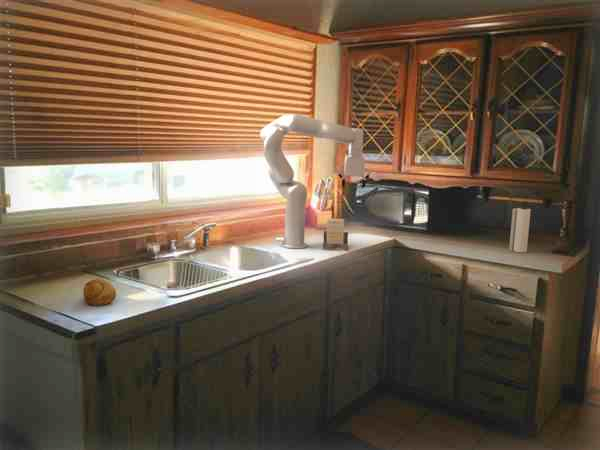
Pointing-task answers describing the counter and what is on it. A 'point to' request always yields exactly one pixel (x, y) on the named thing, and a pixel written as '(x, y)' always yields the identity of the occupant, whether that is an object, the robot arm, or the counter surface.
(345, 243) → the cleat holder
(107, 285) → the bread roll
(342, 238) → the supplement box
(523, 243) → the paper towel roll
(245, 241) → the counter surface
